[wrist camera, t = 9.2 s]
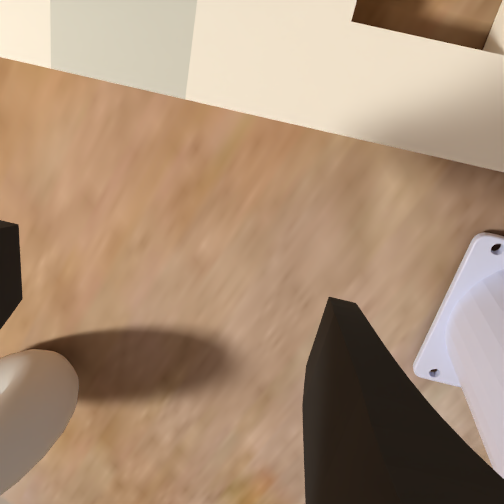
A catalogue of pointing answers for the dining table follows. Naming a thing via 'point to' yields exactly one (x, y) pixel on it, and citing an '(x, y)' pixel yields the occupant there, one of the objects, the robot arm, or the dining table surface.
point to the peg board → (280, 66)
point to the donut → (32, 409)
